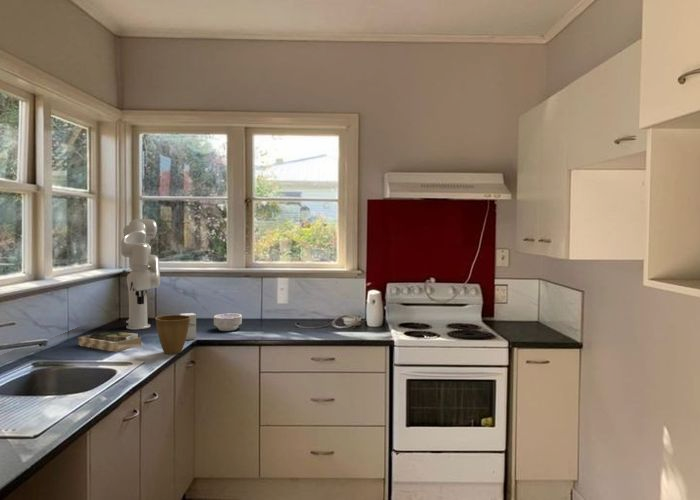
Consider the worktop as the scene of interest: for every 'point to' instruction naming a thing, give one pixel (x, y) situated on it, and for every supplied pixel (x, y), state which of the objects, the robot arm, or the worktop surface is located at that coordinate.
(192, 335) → the supplement box
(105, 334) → the juice carton
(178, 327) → the plant pot
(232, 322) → the paper bowls
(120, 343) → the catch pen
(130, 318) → the robot arm
